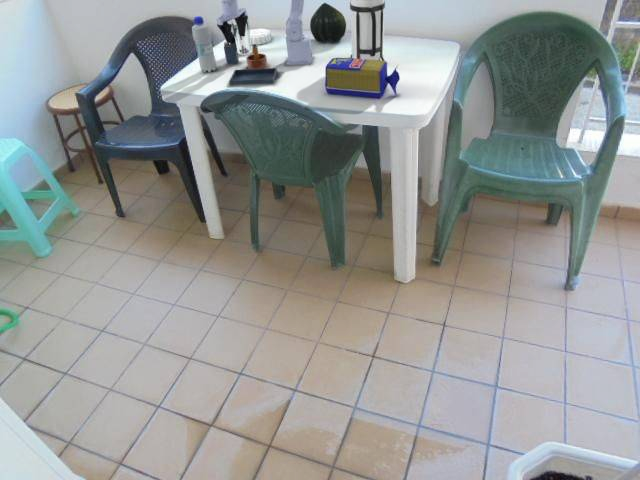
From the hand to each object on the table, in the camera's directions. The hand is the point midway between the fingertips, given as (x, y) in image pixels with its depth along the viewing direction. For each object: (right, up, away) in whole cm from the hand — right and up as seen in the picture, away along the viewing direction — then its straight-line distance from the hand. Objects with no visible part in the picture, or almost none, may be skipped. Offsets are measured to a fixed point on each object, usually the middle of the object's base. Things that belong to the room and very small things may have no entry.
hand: (236, 39), depth 185 cm
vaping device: (-3, -4, +7) cm, 8 cm away
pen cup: (+8, -9, +4) cm, 13 cm away
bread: (+46, -26, -19) cm, 56 cm away
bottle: (-11, -10, +5) cm, 16 cm away
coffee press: (+51, -9, +1) cm, 52 cm away
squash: (+35, +9, +23) cm, 43 cm away
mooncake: (+5, +11, +29) cm, 31 cm away
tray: (+8, -17, -5) cm, 19 cm away
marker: (+8, -9, +3) cm, 12 cm away
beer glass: (+1, +1, +17) cm, 18 cm away
